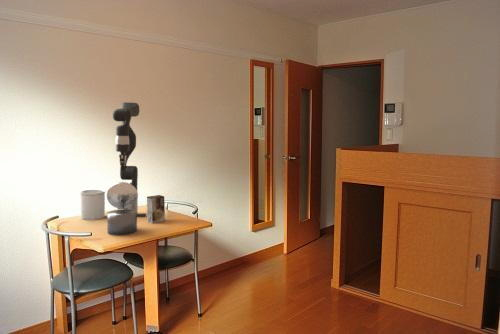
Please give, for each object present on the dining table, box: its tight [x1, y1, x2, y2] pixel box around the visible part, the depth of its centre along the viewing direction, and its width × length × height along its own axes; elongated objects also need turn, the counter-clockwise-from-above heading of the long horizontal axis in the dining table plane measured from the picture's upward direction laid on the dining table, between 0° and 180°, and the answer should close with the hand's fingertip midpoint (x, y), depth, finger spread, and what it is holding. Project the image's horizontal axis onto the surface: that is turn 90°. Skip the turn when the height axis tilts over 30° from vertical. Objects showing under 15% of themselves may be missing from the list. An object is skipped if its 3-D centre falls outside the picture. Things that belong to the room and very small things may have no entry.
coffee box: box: [146, 194, 166, 224], centre depth 246 cm, size 9×6×16 cm
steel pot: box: [106, 209, 147, 236], centre depth 223 cm, size 16×21×11 cm
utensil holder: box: [79, 188, 106, 221], centre depth 253 cm, size 15×15×18 cm
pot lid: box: [106, 181, 139, 210], centre depth 227 cm, size 18×17×3 cm
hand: (123, 171), depth 233 cm, fingers open, 6 cm apart
